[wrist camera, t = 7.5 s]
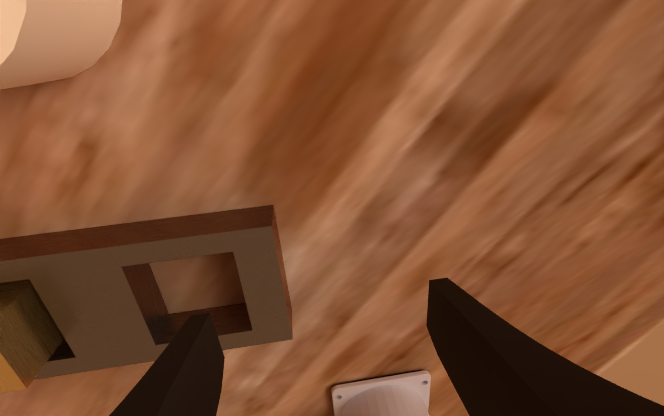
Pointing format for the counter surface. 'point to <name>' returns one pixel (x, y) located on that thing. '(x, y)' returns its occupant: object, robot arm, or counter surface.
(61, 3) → the cylinder with rectangular tab
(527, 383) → the robot arm
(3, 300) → the golden brown block
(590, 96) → the counter surface
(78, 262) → the grey slotted board
